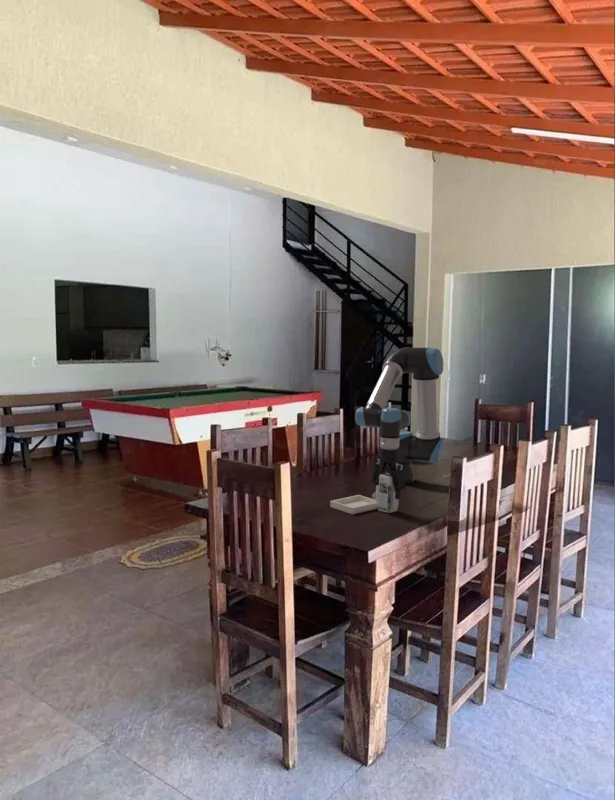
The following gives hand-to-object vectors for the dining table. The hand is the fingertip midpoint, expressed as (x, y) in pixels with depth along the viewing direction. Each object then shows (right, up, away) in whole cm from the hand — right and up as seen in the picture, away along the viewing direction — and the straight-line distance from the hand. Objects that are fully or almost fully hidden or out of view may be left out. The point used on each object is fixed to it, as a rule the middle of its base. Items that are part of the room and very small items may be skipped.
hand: (386, 503), depth 248 cm
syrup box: (0, -3, 0) cm, 3 cm away
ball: (-3, +1, +14) cm, 14 cm away
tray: (-12, -2, +4) cm, 13 cm away
